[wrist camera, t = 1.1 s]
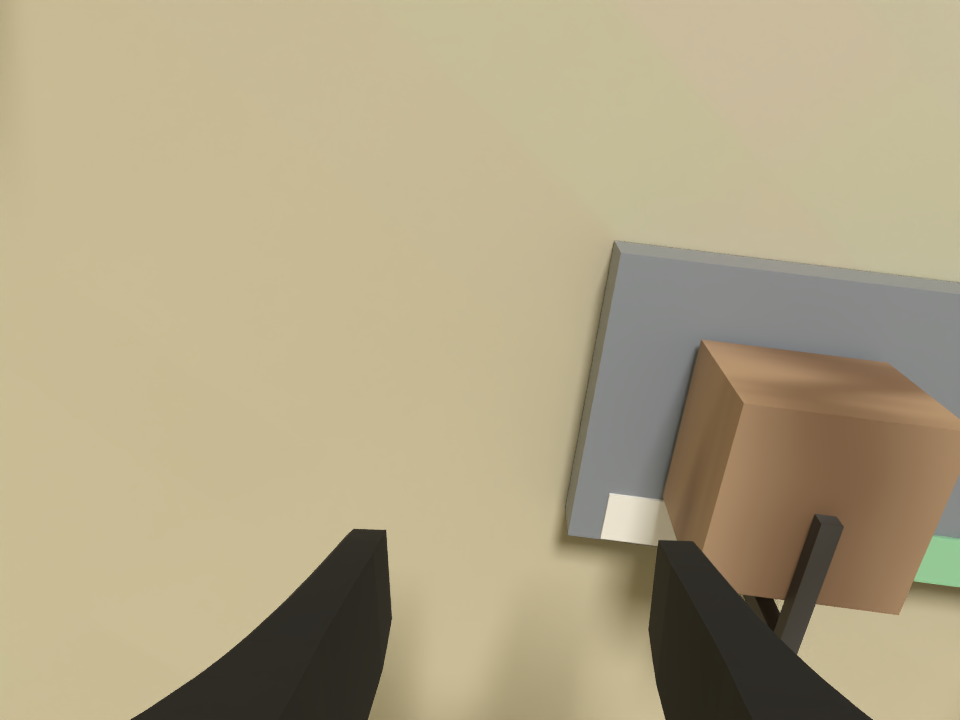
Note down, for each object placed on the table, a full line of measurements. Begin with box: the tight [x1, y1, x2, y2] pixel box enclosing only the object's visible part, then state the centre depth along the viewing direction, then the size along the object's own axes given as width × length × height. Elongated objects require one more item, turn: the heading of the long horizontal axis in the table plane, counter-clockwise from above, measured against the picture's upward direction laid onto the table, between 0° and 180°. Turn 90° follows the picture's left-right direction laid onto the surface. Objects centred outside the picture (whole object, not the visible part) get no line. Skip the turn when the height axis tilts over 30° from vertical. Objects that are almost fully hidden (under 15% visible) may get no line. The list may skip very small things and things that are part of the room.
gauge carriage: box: [663, 339, 960, 655], centre depth 18 cm, size 5×7×4 cm
